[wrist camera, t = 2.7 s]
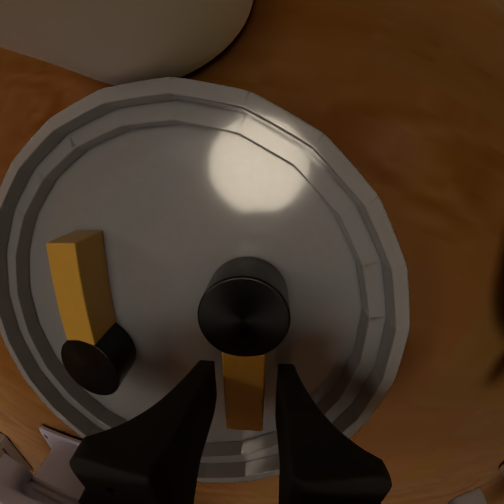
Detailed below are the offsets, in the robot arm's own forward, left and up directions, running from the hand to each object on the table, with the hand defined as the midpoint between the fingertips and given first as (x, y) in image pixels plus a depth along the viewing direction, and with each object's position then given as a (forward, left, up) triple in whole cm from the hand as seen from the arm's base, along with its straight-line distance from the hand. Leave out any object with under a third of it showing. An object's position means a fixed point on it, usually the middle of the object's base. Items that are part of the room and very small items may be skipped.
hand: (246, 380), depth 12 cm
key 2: (+2, +7, -1) cm, 8 cm away
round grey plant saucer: (+2, +4, -2) cm, 4 cm away
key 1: (+2, 0, -1) cm, 2 cm away
